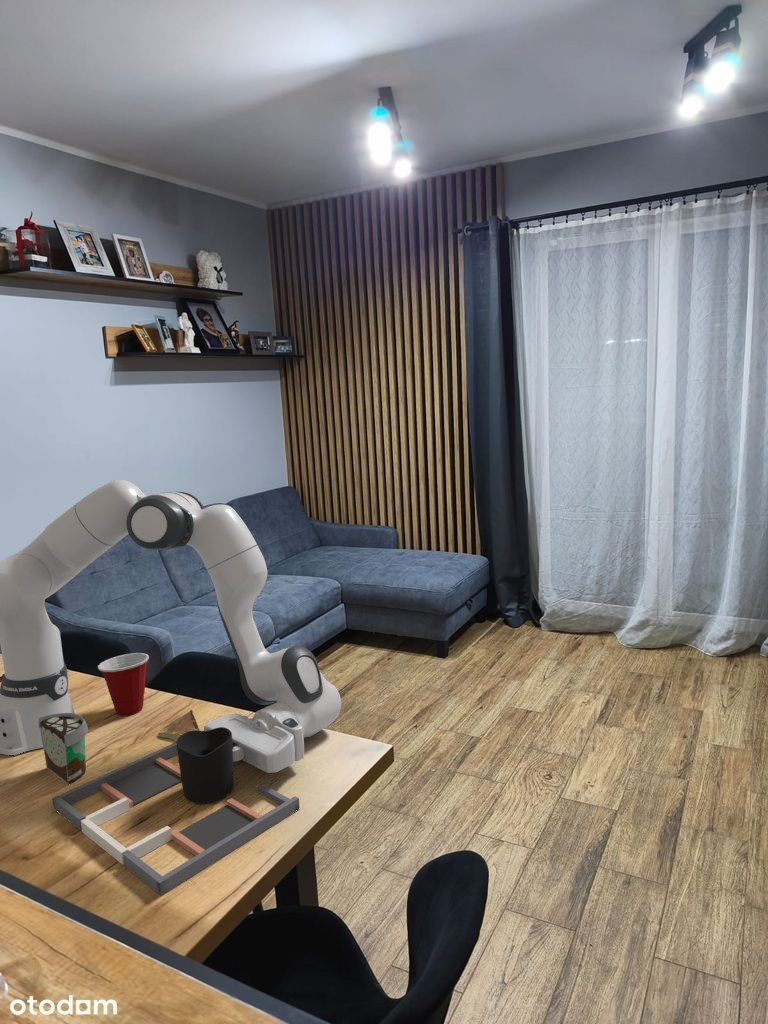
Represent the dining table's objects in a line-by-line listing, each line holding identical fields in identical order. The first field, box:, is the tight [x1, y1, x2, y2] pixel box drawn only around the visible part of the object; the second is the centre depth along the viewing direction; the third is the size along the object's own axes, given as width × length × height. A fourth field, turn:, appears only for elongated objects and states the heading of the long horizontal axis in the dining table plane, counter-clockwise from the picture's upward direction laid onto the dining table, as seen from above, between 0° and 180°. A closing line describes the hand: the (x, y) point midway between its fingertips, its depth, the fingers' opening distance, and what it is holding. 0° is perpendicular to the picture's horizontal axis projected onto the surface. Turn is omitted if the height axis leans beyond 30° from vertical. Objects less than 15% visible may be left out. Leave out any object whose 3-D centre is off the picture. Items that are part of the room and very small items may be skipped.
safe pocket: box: [81, 797, 173, 866], centre depth 111 cm, size 8×14×2 cm, turn 49°
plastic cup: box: [97, 652, 150, 717], centre depth 156 cm, size 11×11×12 cm
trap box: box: [51, 741, 301, 896], centre depth 118 cm, size 26×34×2 cm
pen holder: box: [176, 727, 235, 805], centre depth 122 cm, size 9×9×10 cm
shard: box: [158, 709, 201, 741], centre depth 147 cm, size 11×8×2 cm
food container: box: [38, 713, 89, 786], centre depth 131 cm, size 12×6×10 cm, turn 48°
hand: (212, 759), depth 123 cm, fingers closed
